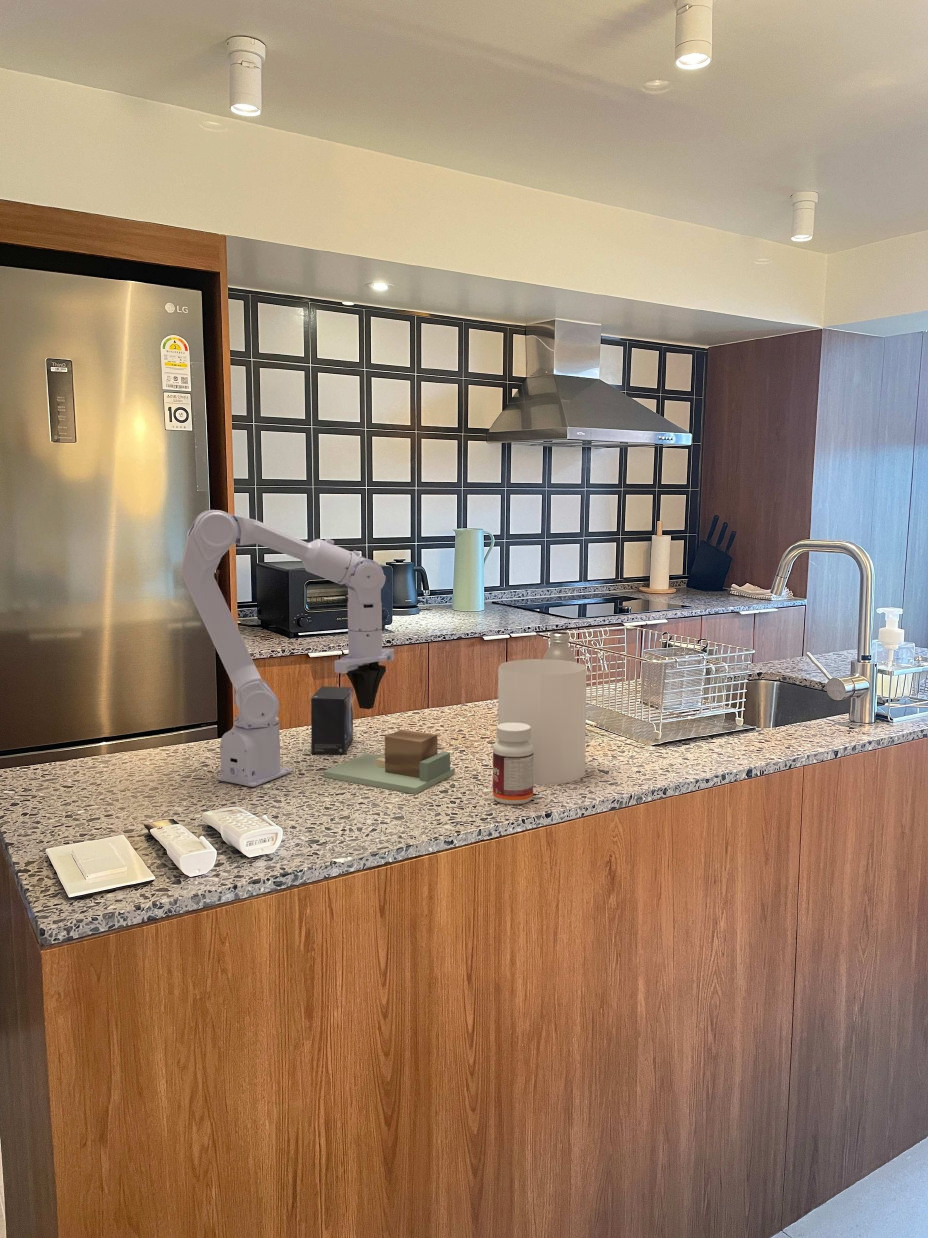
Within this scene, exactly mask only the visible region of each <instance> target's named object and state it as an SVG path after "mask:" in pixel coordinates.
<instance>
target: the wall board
mask: <svg viewBox="0 0 928 1238" xmlns="http://www.w3.org/2000/svg"><path fill="white" fill-rule="evenodd" d="M455 769H456V768H455V767H451V752H450V751H449V752H448V751H440V752H438V754H436V755H434V756H432V757H429V758H427V759H425V760H423V761H421V762H420V778H415V777H410V776H404V775H398V774H393V773H387V772H385V755H384V756H383V755H378V754H372V753H368V752H367V753H363V754H361V755H359V756H356V757H353V758H352V759H350V760H346V761H344V762H342V763H340V764H338V765H335V766H332V767H330V768H327V769H326V770H323V775H322V776H323V778H326V779H333V780H336V781H337V780H338V781H343V782H349V783H352V784H353V783H354V784H358V785H363V786H364V785H365V786H369V787H374V788H378V789H379V788H380V789H385V790H390V791H396V792H400V793H405V794H411V795H418V794H419V793H421V792H424V791H426V790H427V789H429V788H431V787H433V786H434V785H436V784H438V783H440V782H442V781H444V780H446V779H448V778H450V777H452V776H454V775H455V774H456V770H455Z"/></svg>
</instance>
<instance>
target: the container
mask: <svg viewBox="0 0 928 1238" xmlns="http://www.w3.org/2000/svg"><path fill="white" fill-rule="evenodd" d="M497 669H498V670H497V678H498V680H497V683H498V685H497V686H498V687H497V695H498V696H497V697H498V698H497V704H498V705H497V713H498V714H497V715H498V716H497V721H498V722H497V726H498V725H499V724H502V723H524V724H527V725H529V726H530V727H531V738H530V739H529V740H527V741H529V742H530V743H531V744H532V745H533V748H534V763H533V764H534V766H533V785H538V786H543V785H545V786H546V785H563V784H567V783H571V782H575V781H578V780H580V779H581V778H582V777H584V776H585V775H586V741H587V740H586V737H587V736H586V734H587V733H586V728H587V674H588V673H587V667H586V666H585V664H583V663H580V662H577V661H576V662H572V661H564V660H555V659H543V658H529V659H516V660H510V661H506V662H501V663H500V664H499V665H498V667H497ZM497 741H499V739H497Z"/></svg>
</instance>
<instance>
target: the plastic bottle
mask: <svg viewBox="0 0 928 1238" xmlns="http://www.w3.org/2000/svg"><path fill="white" fill-rule="evenodd" d="M549 643H550V645H549V647H548V648H547V649H546V651H545V653H544V654H543V658H542V659H555V660H564V661H572V662H576V663H577V659H576V655H575V653H574V652H573V650H572V649H571V648H570V646H569V643H570V633H569V632H568V631H551V632H550V634H549Z"/></svg>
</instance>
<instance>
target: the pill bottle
mask: <svg viewBox="0 0 928 1238" xmlns="http://www.w3.org/2000/svg"><path fill="white" fill-rule="evenodd" d="M495 737H496V739H497V741H496V742H495V743H494V744H493V745H492V797H493V800H495V801H496V802H497V803H500V804H504V805H523V804H527V803H529V802H531V801H532V799H533V798H534V784H533V766H534V764H533V763H534V748H533V745H532V744H531V743H530V742H529V741H527V740H529V739H530V738H531V727H530V726H529V725H527V724H524V723H502V724H499V725H498V724H497V725H496V736H495ZM498 739H499V741H498Z"/></svg>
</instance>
